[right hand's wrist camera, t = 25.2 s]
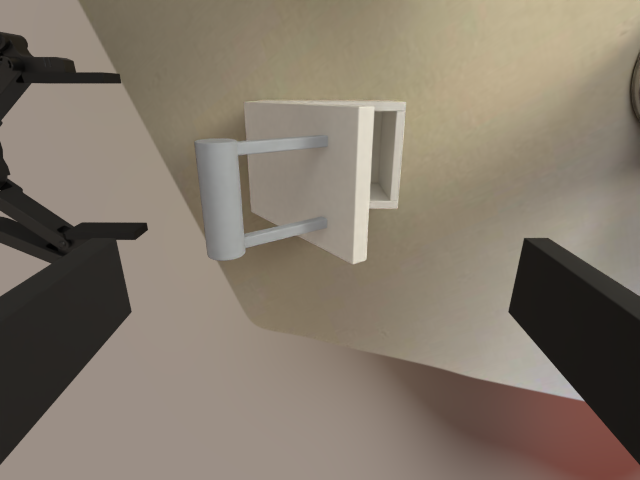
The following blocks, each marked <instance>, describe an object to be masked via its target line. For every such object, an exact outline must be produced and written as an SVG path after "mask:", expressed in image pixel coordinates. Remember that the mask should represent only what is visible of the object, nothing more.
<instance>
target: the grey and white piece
mask: <svg viewBox="0 0 640 480" xmlns="http://www.w3.org/2000/svg"><path fill="white" fill-rule="evenodd" d="M244 113H245V128H246V141H237V140H235V139H227V138H213V139H201V140H196V141H195V142H194V143H195V152H196V160H197V169H198V177H199V186H200V195H201V203H202V212H203V220H204V229H205V237H206V246H207V254H208V257H209V258H211V259H213V260H219V261H226V260H233V259H237V258H239V257H241V256H243V255H244V254H245V248H248V247H252V246H256V245H260V244H264V243H268V242H272V241H276V240H280V239H284V238H288V237H292V236H296V235H297V236H299V237H300V238H302V239H304V240H306V241H308V242H310V243H312V244H314V245H316V246H318V247H320V248H322V249H323V250H325V251H327V252H329V253H331V254H333V255H335V256H337V257H339V258H341V259H343V260H345V261H346V262H348V263H350V264H352V265H354V264H357V263H359V262H362V261H365V260H366V257H367V238H368V219H369V200H370V182H371V163H372V144H373V125H374V107H373V106H354V105H330V104H306V103H282V102H258V101H249V102H244ZM239 155H247V158H248V173H249V188H250V202H251V212H252V213H254V214H256V215H258V216H260V217H262V218H264V219H266V220H268V221H270V222H272V223H274V224H275V225H277V227H272V228H268V229H264V230H259V231H255V232H250V233H246V234H244V227H243V214H242V201H241V188H240V175H239V162H238V156H239Z"/></svg>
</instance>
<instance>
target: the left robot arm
mask: <svg viewBox="0 0 640 480" xmlns="http://www.w3.org/2000/svg"><path fill="white" fill-rule="evenodd" d="M27 47H28V43H27V41H26V39H25V38H24V37H22V36H20V35H15V34H9V33H3V32H0V126H1V125H2V121H1V120H2V119H3V118H4V116H5V115H6V114H7V113H8V111H9V110H10V109H11V108H12V106H13V105H14V104H15V103H16V102H17V100H18V99H19V98H20V97H21V95H22V94H23V93H24V92H25V91H26V89H27V88H28V87H29V86H30V84H31V83H121V79H120V74H114V73H76V70H75V66H74V62H73V61H72V60H69V59H67V58H59V57H33V56H32V55H31V54H30V53H29V51H28V49H27ZM7 175H10V172H9V169H8V166H7V164H6V163H5V161H4V159H3V149H2V146H1V143H0V190H1V191H0V211H2V212H3V213H5V214H6V215H8V216H9V217H11V218H12V219H14V220H16V221H17V222H16V221H14V220H11V219H8V218H5V217H0V243H2V244H5V245H7V246H10V247H12V248H15V249H17V250H20V251H22V252H25V253H27V254H29V255H32V256H34V257H37V258H39V259H42V260H44V261H47V262H49V263H54V262H55V261H57V260H58V259H60V258H61V257H63V256H65V255H66V254H68V253H69V252H71V251H72V250H74V249H76V248H77V247H79V246H80V245H82V244H83V243H85V242H87V241H88V240H90V239H91V238H116V240H136V239H137V238H138V237H139V236H141V235H142V234H143V233H145V232H146V231H147V230H148V228H147V223H80V224H78V225H77V226H75V227H73V226H72V225H71V224H69V223H68V222H66V221H65V220H63V219H61V218H60V217H59V216H57V215H55V214H54V213H53V212H51V211H50V210H48V209H47V208H45V207H44V206H42V205H41V204H39V203H38V202H36V201H35V200H33V199H32V198H30V197H29V196H27V195H26V194H24V193H23V189H22V188H21V187H19V186H18V185H16V184H15V183H13V182H12V181H10V180H9V179H7Z"/></svg>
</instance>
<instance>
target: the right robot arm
mask: <svg viewBox="0 0 640 480" xmlns="http://www.w3.org/2000/svg"><path fill="white" fill-rule="evenodd" d="M631 97H632V104H633V108H634V112H635V114H636V117H637V119H638V120H639V122H640V55H639V58H638V60H637V63H636V66H635V69H634V73H633V78H632V86H631ZM130 313H131V307H130V303H129V298H128V293H127V288H126V284H125V279H124V274H123V270H122V265H121V260H120V256H119V251H118V246H117V242H116V238H91V239H90V240H88V241H87V242H85V243H83V244H82V245H80V246H79V247H77V248H76V249H74V250H72V251H71V252H69V253H68V254H66V255H65V256H63V257H61V258H60V259H58V260H57V261H55V262H54V263H52V264H51V265H49V266H47V267H46V268H44V269H43V270H41V271H40V272H38V273H36V274H35V275H33V276H32V277H30V278H29V279H27V280H25V281H24V282H22V283H21V284H19V285H18V286H16V287H14V288H13V289H11V290H10V291H8V292H7V293H5V294H4V295H2V296H0V464H1V463H2V462H3V461H4V460H5V459H6V457H7V456H8V455H9V454H10V453H11V452H12V451H13V449H14V448H15V447H16V446H17V445H18V444H19V442H20V441H21V440H22V439H23V438H24V437H25V435H26V434H27V433H28V432H29V431H30V430H31V428H32V427H33V426H34V425H35V424H36V423H37V421H38V420H39V419H40V418H41V417H42V416H43V414H44V413H45V412H46V411H47V410H48V409H49V407H50V406H51V405H52V404H53V403H54V402H55V400H56V399H57V398H58V397H59V396H60V395H61V393H62V392H63V391H64V390H65V389H66V388H67V386H68V385H69V384H70V383H71V382H72V381H73V379H74V378H75V377H76V376H77V375H78V374H79V373H80V371H81V370H82V369H83V368H84V367H85V365H86V364H87V363H88V362H89V361H90V360H91V359H92V357H93V356H94V355H95V354H96V353H97V352H98V350H99V349H100V348H101V347H102V346H103V345H104V343H105V342H106V341H107V340H108V339H109V338H110V336H111V335H112V334H113V333H114V332H115V331H116V329H117V328H118V327H119V326H120V325H121V324H122V322H123V321H124V320H125V319H126V318H127V317H128V315H129V314H130ZM509 313H510V314H511V315H512V317H513V318H514V319H515V320H516V321H517V322H518V324H519V325H520V326H521V327H522V328H523V329H524V331H525V332H526V333H527V334H528V335H529V336H530V338H531V339H532V340H533V341H534V342H535V343H536V345H537V346H538V347H539V348H540V349H541V350H542V352H543V353H544V354H545V355H546V356H547V357H548V359H549V360H550V361H551V362H552V363H553V364H554V366H555V367H556V368H557V369H558V370H559V371H560V373H561V374H562V375H563V376H564V377H565V378H566V380H567V381H568V382H569V383H570V384H571V385H572V386H573V388H574V389H575V390H576V391H577V392H578V393H579V395H580V396H581V397H582V398H583V399H584V400H585V402H586V403H587V404H588V405H589V406H590V407H591V409H592V410H593V411H594V412H595V413H596V414H597V416H598V417H599V418H600V419H601V420H602V421H603V423H604V424H605V425H606V426H607V427H608V428H609V430H610V431H611V432H612V433H613V434H614V435H615V437H616V438H617V439H618V440H619V441H620V442H621V444H622V445H623V446H624V447H625V448H626V449H627V451H628V452H629V453H630V454H631V455H632V456H633V457H634V459H635V460H636V461H637V462H638V463H639V464H640V296H638V295H636V294H635V293H633V292H632V291H630V290H629V289H627V288H626V287H624V286H622V285H621V284H619V283H618V282H616V281H615V280H613V279H611V278H610V277H608V276H607V275H605V274H604V273H602V272H600V271H599V270H597V269H596V268H594V267H593V266H591V265H589V264H588V263H586V262H585V261H583V260H582V259H580V258H579V257H577V256H575V255H574V254H572V253H571V252H569V251H568V250H566V249H564V248H563V247H561V246H560V245H558V244H557V243H555V242H553V241H552V240H550V239H549V238H524V242H523V246H522V251H521V256H520V260H519V265H518V270H517V274H516V279H515V284H514V288H513V293H512V298H511V302H510V307H509Z"/></svg>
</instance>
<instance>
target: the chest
mask: <svg viewBox="0 0 640 480" xmlns="http://www.w3.org/2000/svg"><path fill="white" fill-rule="evenodd" d="M258 102H282V103H306V104H330V105H354V106H373V107H374V125H373V144H372V163H371V182H370V200H369V209H397V208H398V198H399V186H400V174H401V162H402V150H403V137H404V125H405V113H406V112H405V111H406V102H403V101H394V100H258Z"/></svg>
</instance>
